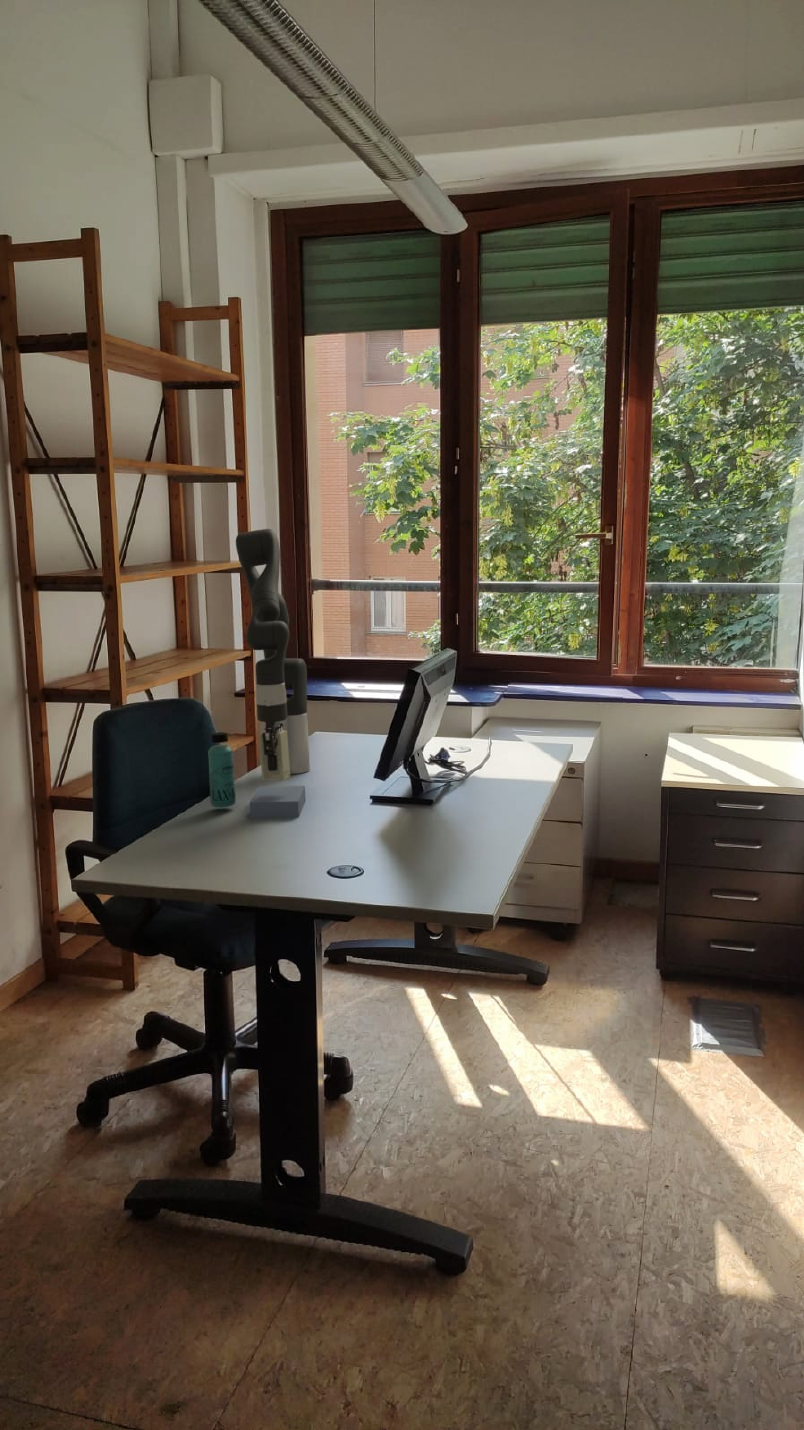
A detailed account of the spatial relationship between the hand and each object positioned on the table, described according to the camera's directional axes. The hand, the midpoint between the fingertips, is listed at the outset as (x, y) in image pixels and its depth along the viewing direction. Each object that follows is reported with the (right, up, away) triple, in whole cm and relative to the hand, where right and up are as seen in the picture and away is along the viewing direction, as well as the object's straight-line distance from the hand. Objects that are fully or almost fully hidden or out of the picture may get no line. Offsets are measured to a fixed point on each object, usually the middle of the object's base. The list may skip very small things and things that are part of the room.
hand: (275, 767), depth 266 cm
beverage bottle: (-13, -11, +3) cm, 18 cm away
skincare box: (0, -3, +1) cm, 3 cm away
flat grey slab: (+1, -11, +2) cm, 11 cm away
